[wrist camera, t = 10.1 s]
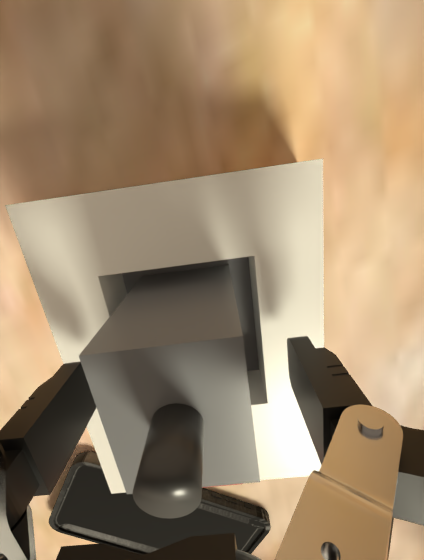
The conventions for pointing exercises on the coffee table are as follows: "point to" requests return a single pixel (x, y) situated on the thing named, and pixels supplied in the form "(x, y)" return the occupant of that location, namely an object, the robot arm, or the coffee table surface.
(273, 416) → the socket plate
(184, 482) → the plug
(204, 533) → the phone
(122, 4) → the coffee table surface
